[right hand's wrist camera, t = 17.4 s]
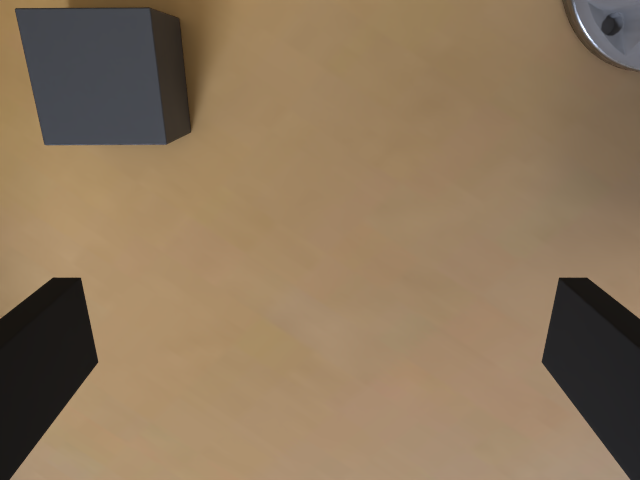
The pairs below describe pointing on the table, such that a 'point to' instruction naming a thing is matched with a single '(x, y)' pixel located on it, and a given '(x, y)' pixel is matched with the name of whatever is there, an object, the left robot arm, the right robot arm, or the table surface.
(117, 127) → the cap block
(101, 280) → the table surface
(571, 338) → the right robot arm
